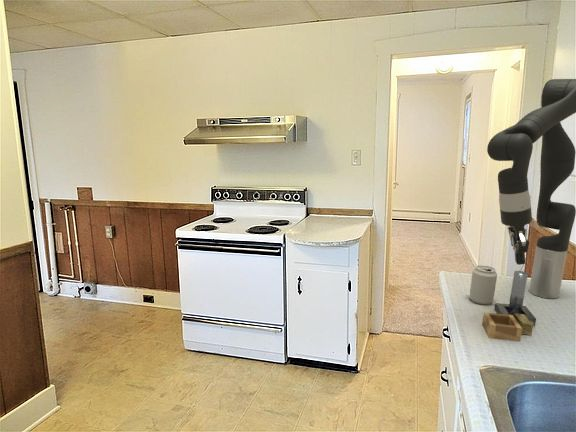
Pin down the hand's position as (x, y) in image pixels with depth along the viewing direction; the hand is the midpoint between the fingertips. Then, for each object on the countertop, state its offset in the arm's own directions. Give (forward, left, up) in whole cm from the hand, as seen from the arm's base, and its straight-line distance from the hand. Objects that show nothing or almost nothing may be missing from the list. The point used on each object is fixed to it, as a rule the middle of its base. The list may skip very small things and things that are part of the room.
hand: (520, 263), depth 117 cm
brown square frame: (+4, -4, -20) cm, 21 cm away
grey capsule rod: (-7, +3, -20) cm, 22 cm away
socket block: (-7, +3, -20) cm, 22 cm away
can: (-18, -4, -21) cm, 28 cm away
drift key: (0, +3, -20) cm, 20 cm away
